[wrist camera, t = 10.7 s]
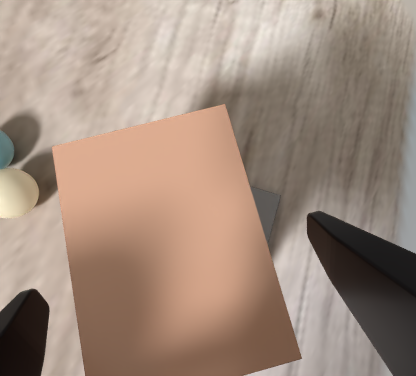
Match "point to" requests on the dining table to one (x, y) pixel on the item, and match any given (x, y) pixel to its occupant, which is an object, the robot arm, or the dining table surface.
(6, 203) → the marble
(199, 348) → the peach rectangular box
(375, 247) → the robot arm
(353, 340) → the dining table surface
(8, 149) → the marble
